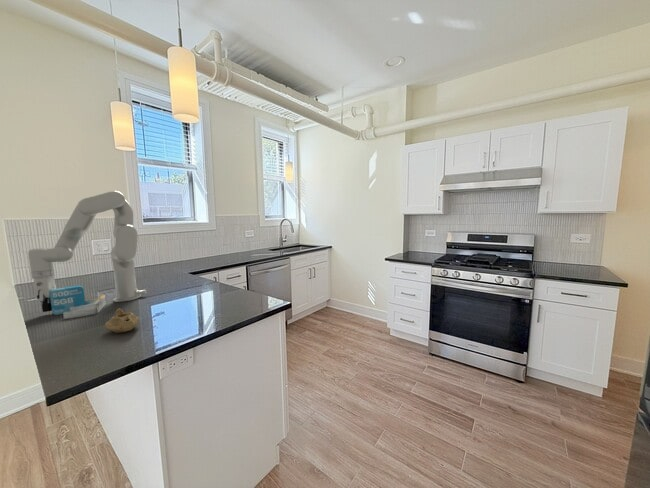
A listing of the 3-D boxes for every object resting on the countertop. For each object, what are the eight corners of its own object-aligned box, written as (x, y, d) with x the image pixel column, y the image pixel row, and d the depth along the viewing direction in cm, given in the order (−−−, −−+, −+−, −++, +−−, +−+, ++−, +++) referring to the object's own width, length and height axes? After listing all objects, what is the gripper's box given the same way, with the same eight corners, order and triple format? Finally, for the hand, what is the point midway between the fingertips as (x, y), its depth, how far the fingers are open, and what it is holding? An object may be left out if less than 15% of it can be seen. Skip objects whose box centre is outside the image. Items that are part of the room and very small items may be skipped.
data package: (52, 315, 129) (49, 291, 127) (52, 313, 132) (49, 289, 130) (86, 309, 137) (83, 286, 136) (85, 307, 140) (82, 284, 139)
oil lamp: (119, 339, 100) (116, 319, 99) (99, 332, 107) (97, 313, 106) (149, 328, 110) (147, 309, 109) (130, 322, 117) (128, 304, 116)
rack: (105, 303, 145) (104, 294, 145) (97, 313, 129) (96, 303, 129) (76, 307, 140) (75, 297, 139) (64, 319, 123) (62, 307, 123)
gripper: (47, 275, 124) (52, 314, 126) (59, 270, 137) (63, 305, 139) (24, 277, 120) (29, 317, 122) (39, 272, 134) (43, 308, 135)
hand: (47, 310), depth 131 cm, fingers closed
